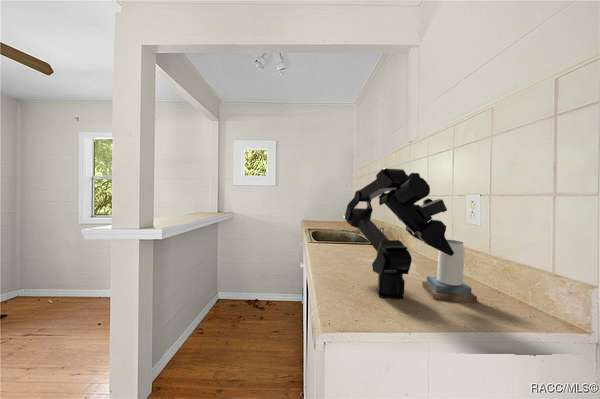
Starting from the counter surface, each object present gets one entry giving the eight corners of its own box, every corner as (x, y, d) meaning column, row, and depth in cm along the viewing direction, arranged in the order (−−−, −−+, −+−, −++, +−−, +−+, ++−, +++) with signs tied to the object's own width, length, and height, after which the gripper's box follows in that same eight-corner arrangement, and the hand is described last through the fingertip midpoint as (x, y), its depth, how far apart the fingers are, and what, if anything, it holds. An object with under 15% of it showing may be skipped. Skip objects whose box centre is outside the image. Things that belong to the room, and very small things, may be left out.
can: (467, 285, 77) (470, 243, 76) (451, 287, 74) (454, 243, 74) (447, 278, 83) (450, 239, 82) (431, 280, 80) (434, 239, 80)
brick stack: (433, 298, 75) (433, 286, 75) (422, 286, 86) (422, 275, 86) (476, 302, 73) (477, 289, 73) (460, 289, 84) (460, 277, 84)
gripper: (438, 187, 65) (487, 235, 63) (418, 189, 83) (456, 227, 81) (402, 218, 66) (450, 267, 64) (390, 214, 85) (427, 252, 83)
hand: (446, 251), depth 73 cm, fingers open, 9 cm apart
